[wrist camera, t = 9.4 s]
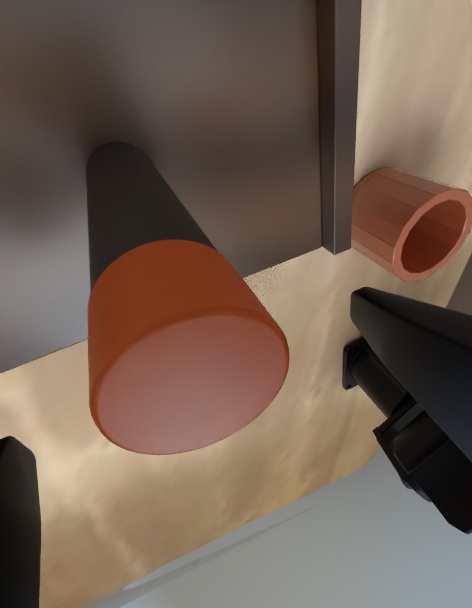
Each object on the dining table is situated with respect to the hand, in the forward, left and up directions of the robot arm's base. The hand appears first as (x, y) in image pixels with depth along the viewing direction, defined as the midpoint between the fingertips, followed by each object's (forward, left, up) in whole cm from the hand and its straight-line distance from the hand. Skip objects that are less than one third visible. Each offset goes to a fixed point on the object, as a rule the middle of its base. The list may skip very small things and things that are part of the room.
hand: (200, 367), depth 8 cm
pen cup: (-5, -15, -11) cm, 19 cm away
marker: (+3, 0, -7) cm, 8 cm away
